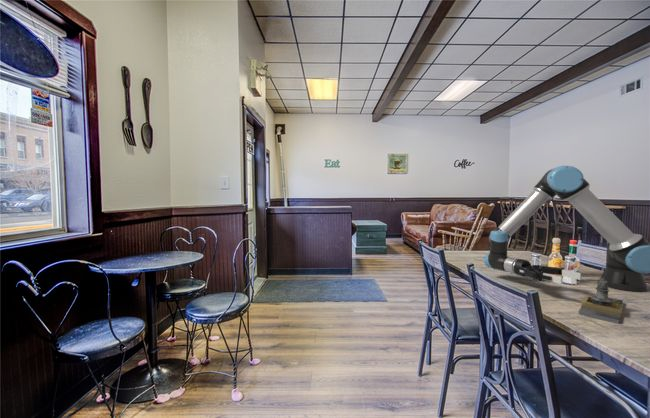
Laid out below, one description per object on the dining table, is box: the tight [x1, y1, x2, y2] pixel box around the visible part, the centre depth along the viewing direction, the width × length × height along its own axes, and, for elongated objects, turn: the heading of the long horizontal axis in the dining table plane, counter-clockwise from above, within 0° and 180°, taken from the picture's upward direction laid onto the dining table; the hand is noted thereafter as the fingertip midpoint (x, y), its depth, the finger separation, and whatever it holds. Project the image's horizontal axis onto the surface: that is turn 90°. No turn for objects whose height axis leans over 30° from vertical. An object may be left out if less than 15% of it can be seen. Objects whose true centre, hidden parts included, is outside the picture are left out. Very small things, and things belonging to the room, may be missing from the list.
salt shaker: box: [591, 277, 613, 306], centre depth 107 cm, size 6×6×12 cm
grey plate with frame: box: [578, 293, 624, 325], centre depth 107 cm, size 26×10×2 cm, turn 132°
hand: (571, 278), depth 116 cm, fingers open, 13 cm apart
